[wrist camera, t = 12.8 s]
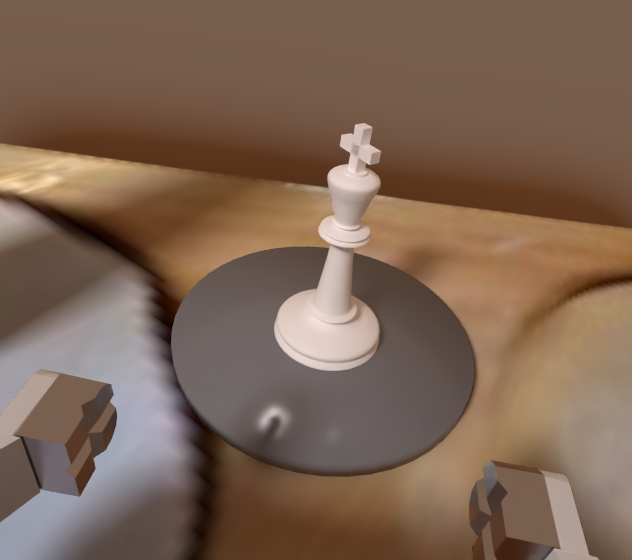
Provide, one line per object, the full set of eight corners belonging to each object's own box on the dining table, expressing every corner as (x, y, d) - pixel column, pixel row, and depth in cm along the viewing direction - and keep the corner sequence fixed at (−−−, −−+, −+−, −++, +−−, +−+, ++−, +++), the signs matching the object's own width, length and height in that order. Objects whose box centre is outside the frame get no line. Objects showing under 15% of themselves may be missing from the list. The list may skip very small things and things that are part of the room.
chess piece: (316, 388, 22) (355, 167, 16) (254, 318, 24) (266, 109, 18) (400, 346, 24) (462, 142, 18) (335, 287, 27) (369, 95, 21)
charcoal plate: (457, 282, 30) (462, 271, 30) (486, 510, 19) (493, 498, 19) (222, 240, 31) (223, 228, 30) (117, 436, 20) (114, 422, 19)
